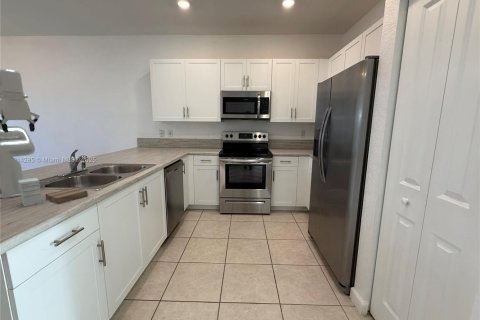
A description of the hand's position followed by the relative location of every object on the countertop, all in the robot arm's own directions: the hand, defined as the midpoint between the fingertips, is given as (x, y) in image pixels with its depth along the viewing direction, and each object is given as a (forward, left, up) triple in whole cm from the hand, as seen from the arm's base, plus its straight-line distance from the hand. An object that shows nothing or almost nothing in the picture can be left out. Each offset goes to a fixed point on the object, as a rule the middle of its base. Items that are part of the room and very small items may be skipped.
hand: (19, 131), depth 110 cm
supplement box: (+4, -1, -37) cm, 37 cm away
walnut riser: (+10, +12, -37) cm, 40 cm away
